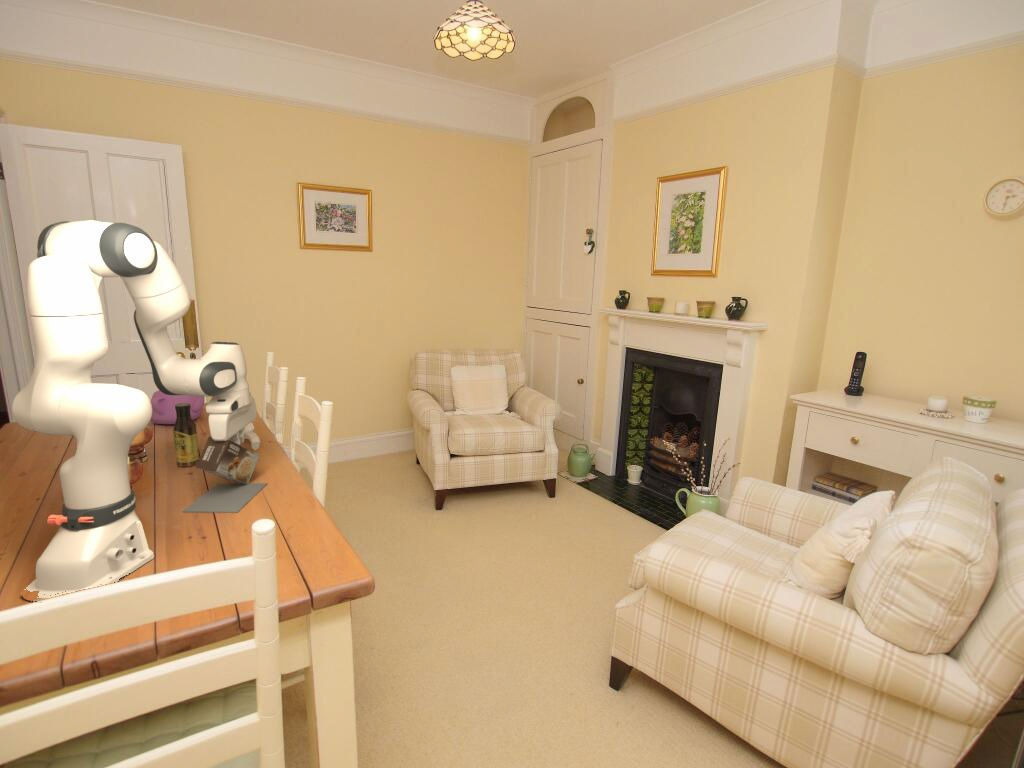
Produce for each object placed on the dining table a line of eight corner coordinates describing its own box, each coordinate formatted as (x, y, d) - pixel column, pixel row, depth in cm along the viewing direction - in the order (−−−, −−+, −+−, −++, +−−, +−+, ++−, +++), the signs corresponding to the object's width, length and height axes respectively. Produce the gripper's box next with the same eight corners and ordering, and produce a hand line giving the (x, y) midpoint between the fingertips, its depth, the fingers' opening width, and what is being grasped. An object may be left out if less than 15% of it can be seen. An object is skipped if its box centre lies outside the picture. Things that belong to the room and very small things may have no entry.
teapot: (135, 429, 199) (129, 391, 196) (172, 414, 220) (168, 379, 217) (193, 431, 198) (188, 392, 195) (225, 416, 219) (221, 380, 216)
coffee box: (241, 451, 156) (209, 434, 141) (260, 455, 155) (230, 438, 140) (228, 481, 152) (194, 467, 138) (248, 485, 152) (216, 471, 137)
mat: (237, 512, 135) (237, 511, 135) (182, 512, 135) (182, 511, 135) (267, 484, 153) (267, 483, 153) (218, 483, 152) (218, 482, 152)
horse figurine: (233, 458, 196) (249, 451, 177) (225, 416, 197) (240, 404, 178) (247, 455, 199) (265, 448, 180) (239, 414, 200) (256, 402, 181)
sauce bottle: (172, 465, 165) (164, 404, 161) (192, 459, 171) (185, 400, 166) (184, 469, 162) (177, 407, 158) (204, 463, 168) (197, 403, 163)
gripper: (238, 388, 156) (244, 431, 160) (201, 409, 136) (209, 458, 140) (259, 388, 156) (265, 431, 160) (226, 409, 137) (233, 458, 140)
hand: (238, 444), depth 150 cm, fingers closed
